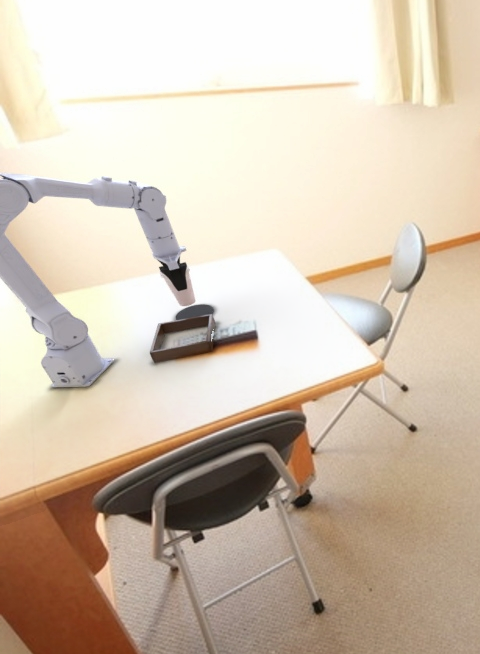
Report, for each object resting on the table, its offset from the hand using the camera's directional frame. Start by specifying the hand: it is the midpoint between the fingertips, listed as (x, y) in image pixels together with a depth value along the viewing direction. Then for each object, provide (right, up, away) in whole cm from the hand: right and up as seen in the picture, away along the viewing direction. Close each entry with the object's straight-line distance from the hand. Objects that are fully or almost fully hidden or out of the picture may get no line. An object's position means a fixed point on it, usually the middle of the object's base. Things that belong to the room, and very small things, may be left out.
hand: (180, 284), depth 124 cm
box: (+4, -15, -3) cm, 15 cm away
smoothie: (0, -5, +3) cm, 6 cm away
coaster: (-1, -7, +8) cm, 11 cm away
